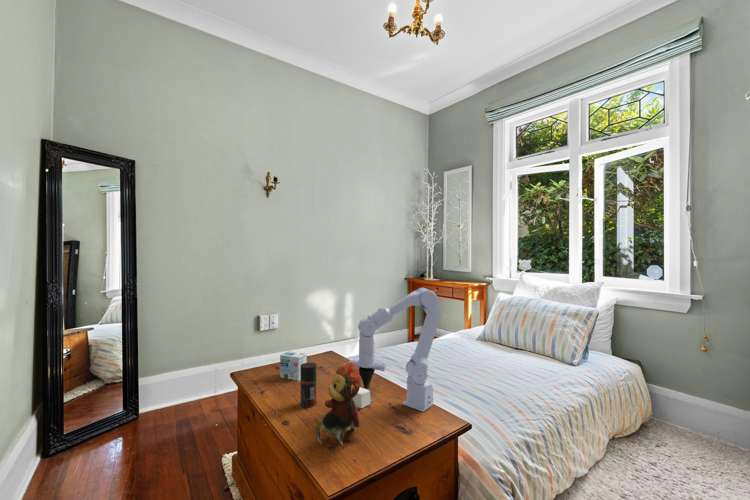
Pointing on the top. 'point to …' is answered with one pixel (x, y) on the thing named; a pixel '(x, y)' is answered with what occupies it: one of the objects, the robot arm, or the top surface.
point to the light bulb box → (292, 365)
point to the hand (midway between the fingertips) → (366, 387)
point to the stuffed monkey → (342, 402)
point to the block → (362, 398)
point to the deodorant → (308, 385)
